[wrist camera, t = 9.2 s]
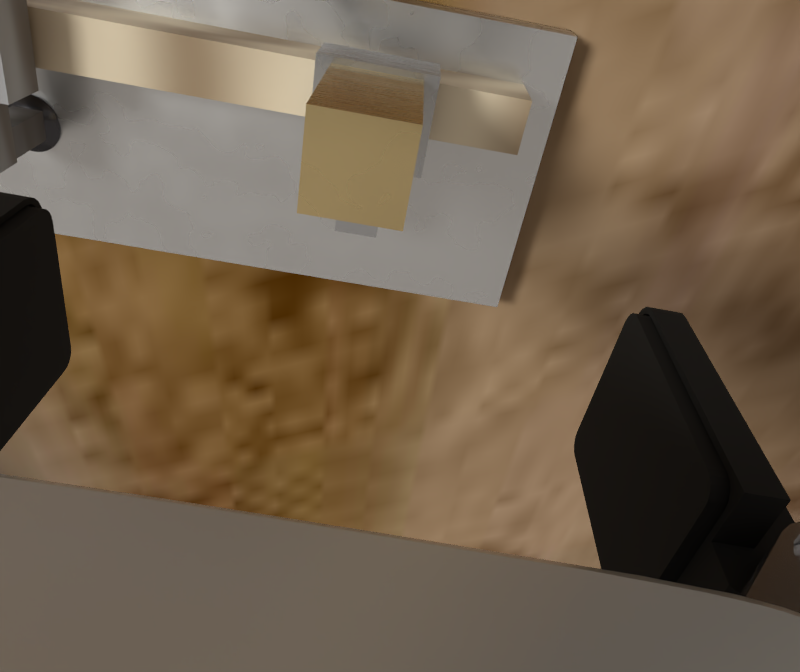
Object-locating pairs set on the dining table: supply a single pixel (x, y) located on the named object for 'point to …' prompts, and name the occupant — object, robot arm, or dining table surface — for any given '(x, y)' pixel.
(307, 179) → the block
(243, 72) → the sliding bolt bar
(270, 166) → the bolt plate
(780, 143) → the dining table surface
